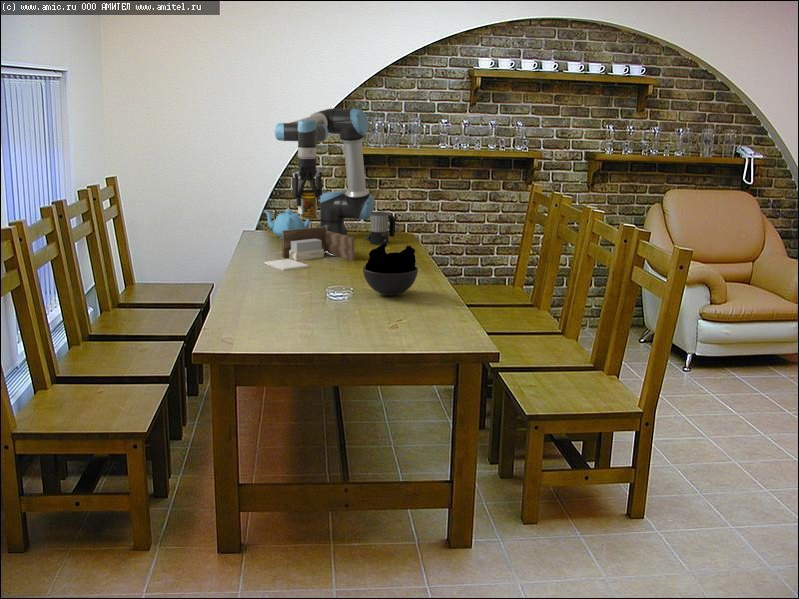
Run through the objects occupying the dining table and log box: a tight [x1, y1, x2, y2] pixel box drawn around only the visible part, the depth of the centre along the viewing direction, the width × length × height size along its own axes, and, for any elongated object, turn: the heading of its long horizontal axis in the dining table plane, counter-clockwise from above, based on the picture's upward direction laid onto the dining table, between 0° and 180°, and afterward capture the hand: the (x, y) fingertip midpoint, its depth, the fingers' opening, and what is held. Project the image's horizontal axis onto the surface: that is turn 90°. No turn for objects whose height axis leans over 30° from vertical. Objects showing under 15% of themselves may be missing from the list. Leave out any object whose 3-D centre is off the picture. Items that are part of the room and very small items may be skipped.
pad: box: [264, 258, 310, 271], centre depth 363 cm, size 16×12×1 cm
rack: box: [281, 226, 356, 262], centre depth 375 cm, size 22×23×12 cm
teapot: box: [263, 209, 311, 240], centre depth 425 cm, size 16×20×14 cm
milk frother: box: [365, 211, 396, 246], centre depth 418 cm, size 14×16×15 cm
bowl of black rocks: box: [362, 244, 419, 296], centre depth 313 cm, size 20×20×19 cm
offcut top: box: [291, 239, 322, 252], centre depth 378 cm, size 5×12×4 cm, turn 126°
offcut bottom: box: [288, 249, 325, 262], centre depth 379 cm, size 6×14×4 cm, turn 127°
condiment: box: [298, 188, 320, 220], centre depth 362 cm, size 7×8×12 cm
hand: (307, 213), depth 363 cm, fingers closed on condiment, 6 cm apart
